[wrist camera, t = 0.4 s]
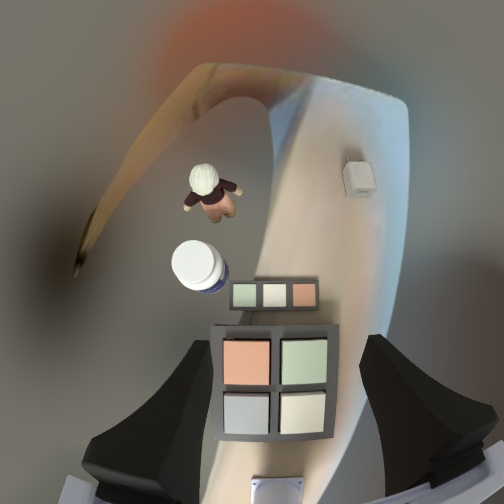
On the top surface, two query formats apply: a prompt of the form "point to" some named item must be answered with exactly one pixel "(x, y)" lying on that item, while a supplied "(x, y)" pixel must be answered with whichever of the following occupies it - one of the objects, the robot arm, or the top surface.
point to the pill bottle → (200, 267)
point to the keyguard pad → (273, 378)
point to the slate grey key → (246, 412)
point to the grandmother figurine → (211, 193)
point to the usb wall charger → (358, 179)
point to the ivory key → (302, 411)
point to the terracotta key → (246, 361)
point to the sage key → (303, 361)
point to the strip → (274, 295)
